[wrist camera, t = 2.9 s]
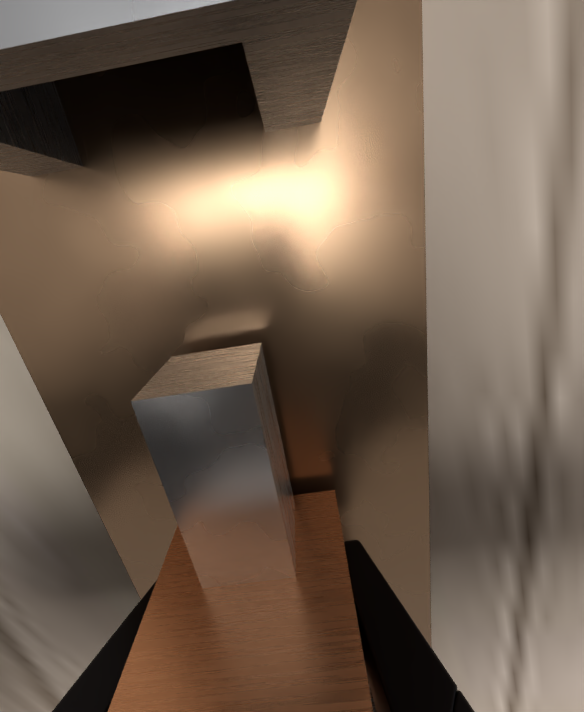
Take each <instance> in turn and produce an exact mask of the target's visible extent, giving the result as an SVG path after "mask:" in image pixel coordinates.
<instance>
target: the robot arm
mask: <svg viewBox="0 0 584 712" xmlns="http://www.w3.org/2000/svg"><path fill="white" fill-rule="evenodd" d="M344 546H345V551H346V557H347V563H348V569H349V575H350V580H351V586H352V592H353V598H354V603H355V609H356V615H357V621H358V627H359V632H360V638H361V644H362V650H363V656H364V661H365V667H366V673H367V677H368V681H369V685H370V689H371V693H372V696H373V700H374V704H375V708H376V712H474V710H473V709H472V707H471V706H470V705H469V703H468V702H467V700H466V699H465V697H464V696H463V694H462V693H461V691H459V690H458V691H457V686H456V684H455V682H454V681H453V679H452V678H451V677H450V675H449V674H448V672H447V671H446V669H445V668H444V666H443V665H442V663H441V662H440V660H439V659H438V657H437V656H436V654H435V653H434V651H433V650H432V648H431V647H430V645H429V644H428V642H427V641H426V639H425V638H424V636H423V635H422V633H421V632H420V630H419V629H418V627H417V626H416V624H415V623H414V621H413V620H412V618H411V617H410V615H409V614H408V612H407V611H406V609H405V608H404V606H403V605H402V603H401V602H400V600H399V599H398V597H397V596H396V594H395V593H394V591H393V590H392V588H391V587H390V585H389V584H388V582H387V581H386V579H385V578H384V577H383V575H382V574H381V572H380V571H379V569H378V568H377V566H376V565H375V563H374V562H373V560H372V559H371V557H370V556H369V554H368V553H367V551H366V550H365V548H364V547H363V545H362V544H361V542H360V541H359V540H349V541H344ZM156 581H157V580H156ZM156 581H155V583H154V584H153V585H152V587H151V588H150V589H149V590H148V592H147V593H146V594H145V595H144V597H143V598H142V599H141V600H140V602H139V603H138V604H137V605H136V607H135V608H134V609H133V610H132V612H131V613H130V614H129V615H128V617H127V618H126V619H125V620H124V622H123V623H122V624H121V626H120V627H119V628H118V629H117V631H116V632H115V633H114V634H113V636H112V637H111V638H110V639H109V641H108V642H107V643H106V644H105V646H104V647H103V648H102V649H101V651H100V652H99V653H98V654H97V656H96V657H95V658H94V659H93V661H92V662H91V663H90V665H89V666H88V667H87V668H86V670H85V671H84V672H83V673H82V675H81V676H80V677H79V678H78V680H77V681H76V682H75V683H74V685H73V686H72V687H71V688H70V690H69V691H68V692H67V693H66V695H65V696H64V697H63V699H62V700H61V701H60V702H59V704H58V705H57V706H56V707H55V709H54V710H53V711H52V712H108V709H109V707H110V704H111V701H112V699H113V696H114V693H115V691H116V688H117V685H118V683H119V680H120V677H121V675H122V672H123V669H124V667H125V664H126V661H127V659H128V656H129V653H130V651H131V648H132V645H133V643H134V640H135V637H136V635H137V632H138V629H139V627H140V624H141V621H142V619H143V616H144V613H145V611H146V608H147V605H148V603H149V600H150V597H151V595H152V592H153V589H154V587H155V584H156Z"/></svg>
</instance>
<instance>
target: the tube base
mask: <svg viewBox="0 0 584 712" xmlns="http://www.w3.org/2000/svg"><path fill="white" fill-rule="evenodd" d="M0 314H1V316H2V318H3V320H4V322H5V324H6V326H7V328H8V330H9V332H10V334H11V336H12V338H13V340H14V342H15V344H16V347H17V349H18V351H19V353H20V355H21V357H22V359H23V361H24V363H25V365H26V367H27V369H28V371H29V373H30V375H31V377H32V379H33V381H34V383H35V385H36V387H37V389H38V391H39V393H40V395H41V397H42V399H43V401H44V403H45V405H46V407H47V410H48V412H49V414H50V416H51V418H52V420H53V422H54V424H55V426H56V428H57V430H58V432H59V434H60V436H61V438H62V440H63V442H64V444H65V446H66V448H67V450H68V452H69V454H70V456H71V458H72V460H73V462H74V464H75V466H76V468H77V470H78V473H79V475H80V477H81V479H82V481H83V483H84V485H85V487H86V489H87V491H88V493H89V495H90V497H91V499H92V501H93V503H94V505H95V507H96V509H97V511H98V513H99V515H100V517H101V519H102V521H103V523H104V525H105V527H106V529H107V531H108V533H109V536H110V538H111V540H112V542H113V544H114V546H115V548H116V550H117V552H118V554H119V556H120V558H121V560H122V562H123V564H124V566H125V568H126V570H127V572H128V574H129V576H130V578H131V580H132V582H133V584H134V586H135V588H136V590H137V592H138V594H139V596H140V599H142V598H143V597H144V595H145V594H146V593H147V592H148V590H149V589H150V588H151V587H152V585H153V584H154V583H155V581H156V580H157V579H158V576H159V573H160V571H161V568H162V565H163V563H164V560H165V557H166V555H167V552H168V549H169V547H170V544H171V541H172V539H173V536H174V533H175V531H176V528H177V525H178V524H177V521H176V519H175V516H174V514H173V511H172V508H171V506H170V503H169V501H168V498H167V495H166V493H165V490H164V487H163V485H162V482H161V480H160V477H159V474H158V472H157V469H156V467H155V464H154V461H153V459H152V456H151V454H150V451H149V448H148V446H147V443H146V441H145V438H144V435H143V433H142V430H141V428H140V425H139V422H138V420H137V417H136V415H135V412H134V409H133V407H132V404H131V402H130V401H131V400H132V399H133V398H134V397H135V396H136V395H137V394H138V393H139V392H140V390H141V389H142V388H143V387H144V386H145V385H146V384H147V383H148V382H149V381H150V379H151V378H152V377H153V376H154V375H155V374H156V373H157V372H158V371H159V370H160V369H161V367H162V366H163V365H164V364H165V363H166V362H167V361H168V360H169V359H170V358H171V357H172V356H178V355H184V354H191V353H197V352H204V351H210V350H216V349H223V348H229V347H236V346H242V345H248V344H255V343H261V342H262V347H263V352H264V357H265V362H266V367H267V372H268V376H269V381H270V386H271V391H272V396H273V401H274V405H275V410H276V415H277V420H278V425H279V430H280V435H281V439H282V444H283V449H284V454H285V459H286V464H287V469H288V473H289V478H290V483H291V488H292V493H293V495H299V494H307V493H315V492H322V491H330V490H335V494H336V499H337V505H338V511H339V517H340V522H341V528H342V534H343V540H344V541H349V540H359V541H360V542H361V544H362V545H363V547H364V548H365V550H366V551H367V553H368V554H369V556H370V557H371V559H372V560H373V562H374V563H375V565H376V566H377V568H378V569H379V571H380V572H381V574H382V575H383V577H384V578H385V579H386V581H387V582H388V584H389V585H390V587H391V588H392V590H393V591H394V593H395V594H396V596H397V597H398V599H399V600H400V602H401V603H402V605H403V606H404V608H405V609H406V611H407V612H408V614H409V615H410V617H411V618H412V620H413V621H414V623H415V624H416V626H417V627H418V629H419V630H420V632H421V633H422V635H423V636H424V638H425V639H426V641H427V642H428V644H429V645H430V647H431V593H430V525H429V457H428V389H427V321H426V252H425V184H424V116H423V48H422V0H0ZM367 679H368V677H367ZM368 684H369V681H368ZM369 690H370V696H371V702H372V708H373V712H376V708H375V704H374V700H373V696H372V693H371V689H370V685H369Z"/></svg>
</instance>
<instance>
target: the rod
mask: <svg viewBox="0 0 584 712" xmlns="http://www.w3.org/2000/svg"><path fill="white" fill-rule="evenodd" d="M130 402H131V404H132V407H133V409H134V412H135V415H136V417H137V420H138V422H139V425H140V428H141V430H142V433H143V435H144V438H145V441H146V443H147V446H148V448H149V451H150V454H151V456H152V459H153V461H154V464H155V467H156V469H157V472H158V474H159V477H160V480H161V482H162V485H163V487H164V490H165V493H166V495H167V498H168V501H169V503H170V506H171V508H172V511H173V514H174V516H175V519H176V521H177V524H178V525H177V528H176V531H175V533H174V536H173V539H172V541H171V544H170V547H169V549H168V552H167V555H166V557H165V560H164V563H163V565H162V568H161V571H160V573H159V576H158V579H157V581H156V584H155V587H154V589H153V592H152V595H151V597H150V600H149V603H148V605H147V608H146V611H145V613H144V616H143V619H142V621H141V624H140V627H139V629H138V632H137V635H136V637H135V640H134V643H133V645H132V648H131V651H130V653H129V656H128V659H127V661H126V664H125V667H124V669H123V672H122V675H121V677H120V680H119V683H118V685H117V688H116V691H115V693H114V696H113V699H112V701H111V704H110V707H109V709H108V712H373V708H372V702H371V696H370V690H369V684H368V679H367V673H366V667H365V661H364V656H363V650H362V644H361V638H360V632H359V627H358V621H357V615H356V609H355V603H354V598H353V592H352V586H351V580H350V575H349V569H348V563H347V557H346V551H345V546H344V540H343V534H342V528H341V522H340V517H339V511H338V505H337V499H336V494H335V490H330V491H322V492H315V493H307V494H299V495H293V493H292V488H291V483H290V478H289V473H288V469H287V464H286V459H285V454H284V449H283V444H282V439H281V435H280V430H279V425H278V420H277V415H276V410H275V405H274V401H273V396H272V391H271V386H270V381H269V376H268V372H267V367H266V362H265V357H264V352H263V347H262V342H261V343H255V344H248V345H242V346H236V347H229V348H223V349H216V350H210V351H204V352H197V353H191V354H184V355H178V356H172V357H171V358H170V359H169V360H168V361H167V362H166V363H165V364H164V365H163V366H162V367H161V369H160V370H159V371H158V372H157V373H156V374H155V375H154V376H153V377H152V378H151V379H150V381H149V382H148V383H147V384H146V385H145V386H144V387H143V388H142V389H141V390H140V392H139V393H138V394H137V395H136V396H135V397H134V398H133V399H132V400H131V401H130Z"/></svg>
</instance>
